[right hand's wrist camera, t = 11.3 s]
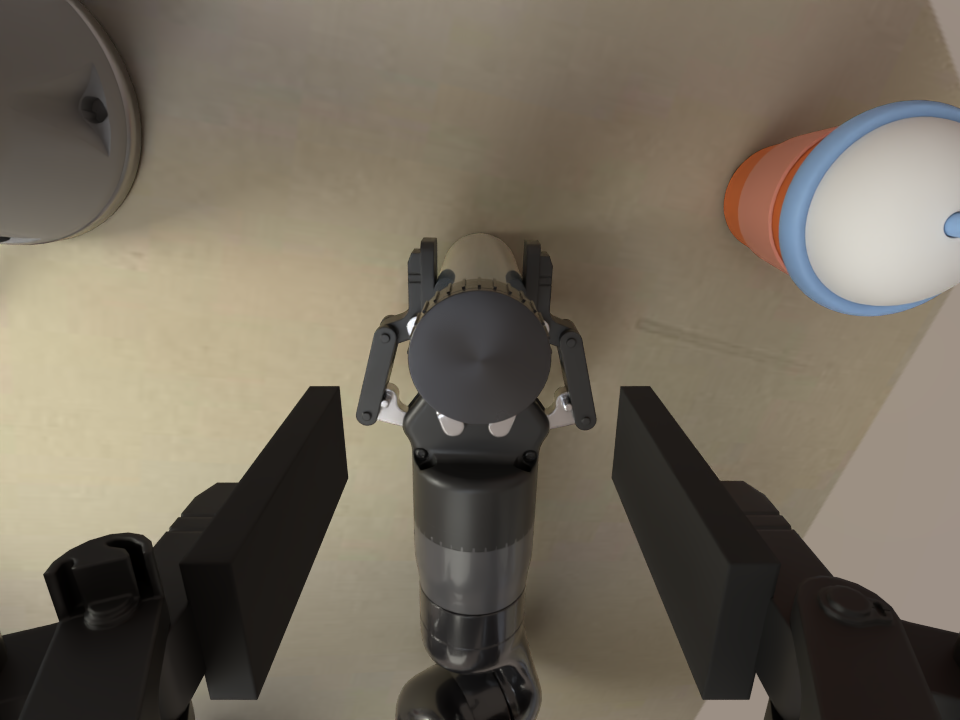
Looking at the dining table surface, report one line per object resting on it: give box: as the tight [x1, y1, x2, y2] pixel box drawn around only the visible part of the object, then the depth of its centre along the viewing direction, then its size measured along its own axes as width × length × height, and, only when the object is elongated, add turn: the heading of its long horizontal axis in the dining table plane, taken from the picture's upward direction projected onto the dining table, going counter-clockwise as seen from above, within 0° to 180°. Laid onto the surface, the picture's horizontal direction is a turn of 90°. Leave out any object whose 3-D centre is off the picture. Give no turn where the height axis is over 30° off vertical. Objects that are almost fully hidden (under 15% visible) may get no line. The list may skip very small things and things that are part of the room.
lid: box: [407, 277, 552, 424], centre depth 21 cm, size 5×5×2 cm
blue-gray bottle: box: [430, 233, 529, 300], centre depth 28 cm, size 5×5×16 cm
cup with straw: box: [724, 100, 960, 316], centre depth 25 cm, size 9×9×18 cm
